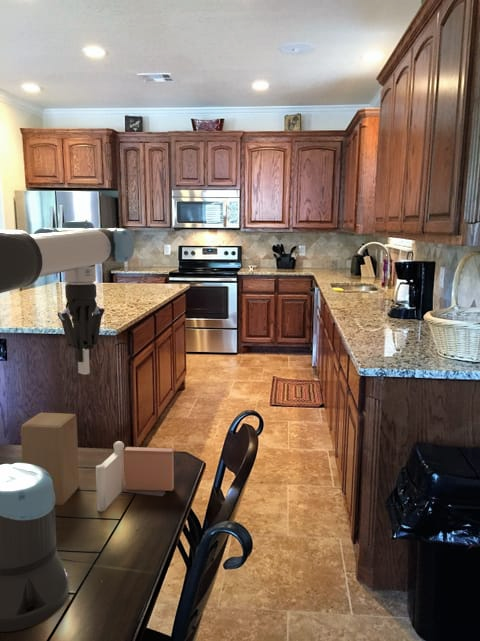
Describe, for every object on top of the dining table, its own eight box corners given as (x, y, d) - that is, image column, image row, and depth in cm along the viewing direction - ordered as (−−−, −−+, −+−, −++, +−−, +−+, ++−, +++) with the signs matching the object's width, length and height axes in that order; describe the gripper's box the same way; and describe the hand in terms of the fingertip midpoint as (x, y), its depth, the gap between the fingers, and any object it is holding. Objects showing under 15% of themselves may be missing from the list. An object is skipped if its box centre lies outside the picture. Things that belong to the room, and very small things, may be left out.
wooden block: (80, 487, 127) (77, 412, 124) (63, 507, 118) (59, 427, 115) (43, 485, 128) (39, 411, 125) (23, 505, 119) (18, 425, 116)
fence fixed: (104, 512, 115) (103, 460, 113) (94, 510, 115) (92, 459, 113) (126, 486, 127) (125, 439, 125) (117, 485, 127) (116, 439, 126)
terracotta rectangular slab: (125, 489, 125) (124, 450, 123) (127, 485, 127) (126, 446, 125) (172, 491, 124) (172, 451, 123) (173, 487, 126) (173, 448, 125)
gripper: (67, 285, 119) (71, 381, 122) (110, 282, 129) (113, 370, 133) (49, 283, 123) (53, 376, 127) (92, 281, 134) (95, 366, 137)
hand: (84, 373), depth 130 cm, fingers closed
